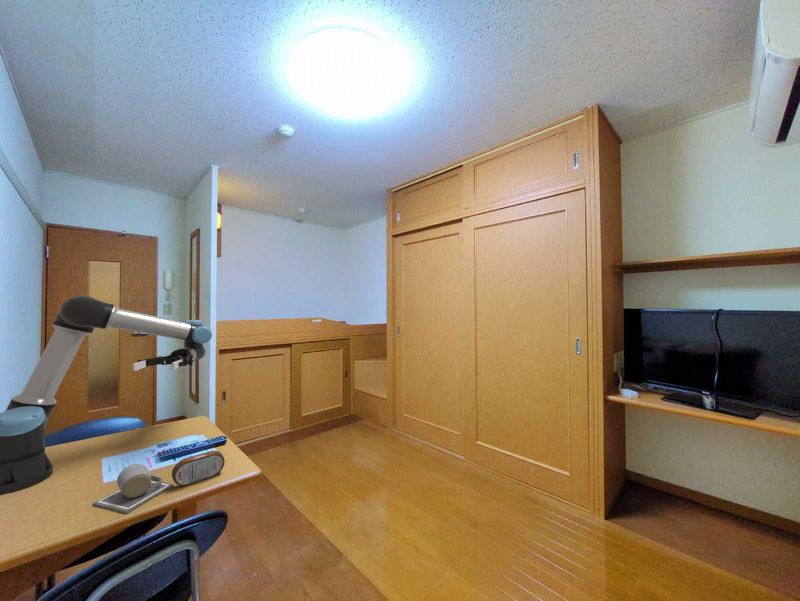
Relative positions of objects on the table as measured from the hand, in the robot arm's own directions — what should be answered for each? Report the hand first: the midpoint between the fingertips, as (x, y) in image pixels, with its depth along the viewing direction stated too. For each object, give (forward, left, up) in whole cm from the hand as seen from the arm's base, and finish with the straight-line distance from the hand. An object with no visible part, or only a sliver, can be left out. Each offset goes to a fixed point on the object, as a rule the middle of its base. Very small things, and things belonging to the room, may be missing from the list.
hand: (153, 366), depth 123 cm
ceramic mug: (+18, -18, -34) cm, 43 cm away
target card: (+18, -19, -35) cm, 44 cm away
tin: (+30, -7, -35) cm, 47 cm away
